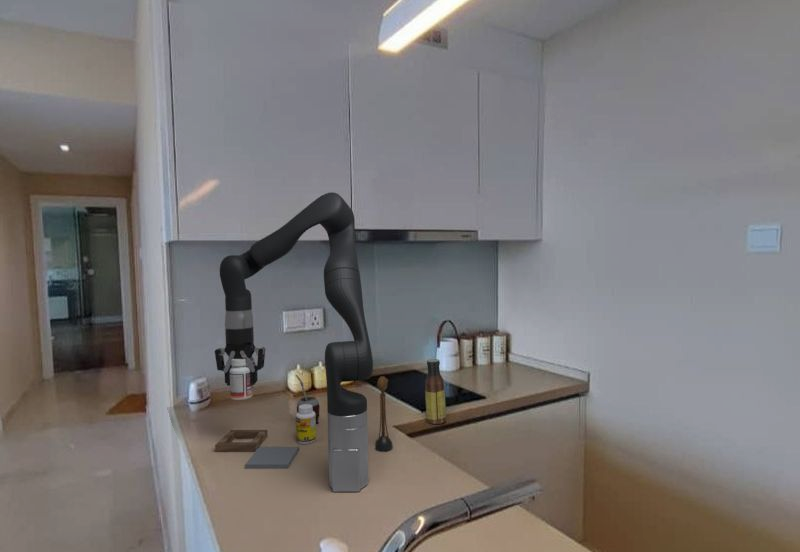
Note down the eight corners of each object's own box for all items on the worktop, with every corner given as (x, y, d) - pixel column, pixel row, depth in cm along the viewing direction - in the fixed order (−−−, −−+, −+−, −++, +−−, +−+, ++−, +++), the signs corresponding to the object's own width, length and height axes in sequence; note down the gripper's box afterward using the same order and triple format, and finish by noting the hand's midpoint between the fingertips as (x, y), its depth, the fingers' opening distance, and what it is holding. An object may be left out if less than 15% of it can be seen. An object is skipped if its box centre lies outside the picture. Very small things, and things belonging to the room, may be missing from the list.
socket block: (254, 451, 128) (254, 444, 128) (215, 452, 128) (215, 444, 128) (267, 436, 139) (267, 429, 139) (231, 436, 139) (230, 430, 139)
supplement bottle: (292, 442, 134) (291, 407, 133) (305, 436, 139) (304, 402, 138) (307, 446, 131) (306, 410, 131) (320, 439, 136) (319, 404, 136)
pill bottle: (249, 392, 137) (248, 354, 136) (255, 398, 132) (254, 358, 131) (227, 396, 133) (226, 357, 133) (233, 402, 128) (231, 361, 128)
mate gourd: (318, 427, 145) (317, 379, 145) (292, 428, 145) (291, 380, 144) (321, 419, 153) (320, 374, 152) (296, 420, 152) (295, 374, 152)
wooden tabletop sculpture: (380, 442, 133) (379, 373, 132) (395, 444, 131) (394, 374, 130) (372, 450, 127) (371, 378, 126) (388, 452, 126) (387, 379, 125)
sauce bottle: (444, 418, 152) (443, 357, 151) (447, 424, 146) (446, 361, 145) (424, 418, 152) (423, 358, 151) (426, 425, 145) (425, 362, 145)
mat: (288, 468, 117) (288, 464, 117) (245, 468, 118) (244, 464, 118) (299, 450, 128) (299, 446, 128) (259, 450, 129) (259, 446, 129)
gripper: (268, 323, 135) (270, 380, 136) (219, 324, 136) (221, 381, 136) (260, 327, 128) (262, 388, 128) (208, 328, 128) (210, 388, 129)
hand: (241, 384), depth 132 cm, fingers closed on pill bottle, 6 cm apart
